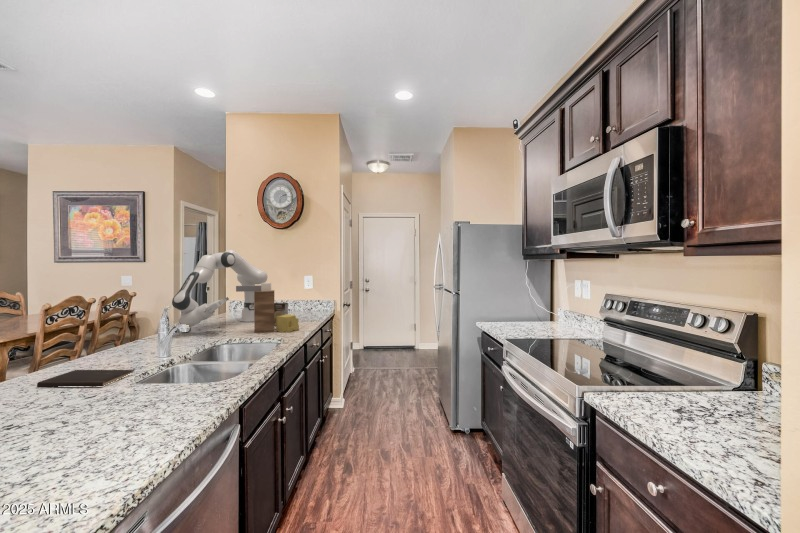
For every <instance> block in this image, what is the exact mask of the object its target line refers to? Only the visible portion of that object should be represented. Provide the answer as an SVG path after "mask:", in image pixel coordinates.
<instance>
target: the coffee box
mask: <svg viewBox="0 0 800 533" xmlns="http://www.w3.org/2000/svg"><path fill="white" fill-rule="evenodd" d="M286 314H289V303H288V302H274V327H276V318H277V316H282V315H286Z"/></svg>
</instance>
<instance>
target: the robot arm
mask: <svg viewBox="0 0 800 533" xmlns="http://www.w3.org/2000/svg"><path fill="white" fill-rule="evenodd" d="M198 260H199V261H198V262H197V264H196V265H195V268H194V269H193V271H192V272H191V273H189V275H188V276H187V277H186V279H185V280H184V282H183V284H182V286H181V287H180V289H179V290H178V291H177V293H176V294H175V295H174V296H173V298H172V300H171V306H173V308H175V309H177V310H179V311H180V316H179V318H178V320H177V321H178V323H179V324H180V325H181V324H186V325H189V327H190V328H192V327H194V326H196V325H198V324H200V323H201V322H202V321H205V320H207V319H209V318H211V317H213V316H214V313H215V312H216V311H217V309H219V308H221V307H222V306H223V305H224V304H225V303H226V302H227V301H229V300H230V298H229V297H228V296H227V297H225V298H223V299H218V300H216V301H215V300H214V302H211V303H206V302H205V303H203V304H201V305H199V303H198V302H197V301H196V300H195V299H193V298H192V297H191V294H192V291H193V290H194V288H195V286H196V284H198V283H199V284H206V283H208V282H209V281H210V280H211V279H212V277H213V274H214V272H215V270H221V269H226V268H227V269H228V268H230V269H232V271H233V272H235V273H236V274H237V275H236V277H237V278H236V279H237V281H238V282H239V283H240V284H241V285H240V286H256V285H261V283H267V281H268V273H267V272H266V271H265V270H262V269H259V268H258V267H256V266H254V265H252V264H251V263H250V262H248V261H247V260H246V259H245V258H244V257H243V256H242V255H241V254H239V253H238V252H236V251H235V250H233V249H227V250H225V251H224V252H216V253H210V254H205V255H202V256H201V258H200V259H198ZM254 292H255V291H243V293H244V297H243V298H244V302H243V308H242V310H241V318H240V319H238V321H239V322H247V323H249V322H250V323H251V322H254Z"/></svg>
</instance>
